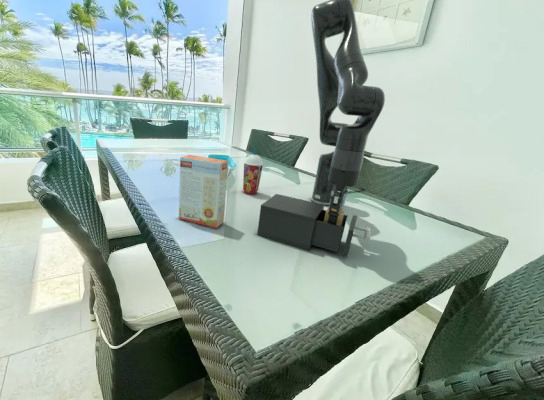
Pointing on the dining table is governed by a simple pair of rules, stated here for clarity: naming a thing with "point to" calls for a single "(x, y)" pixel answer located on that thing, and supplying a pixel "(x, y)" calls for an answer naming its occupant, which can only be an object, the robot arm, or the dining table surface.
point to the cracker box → (202, 190)
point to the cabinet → (289, 220)
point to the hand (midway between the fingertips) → (332, 224)
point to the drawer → (335, 234)
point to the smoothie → (252, 173)
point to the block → (340, 217)
